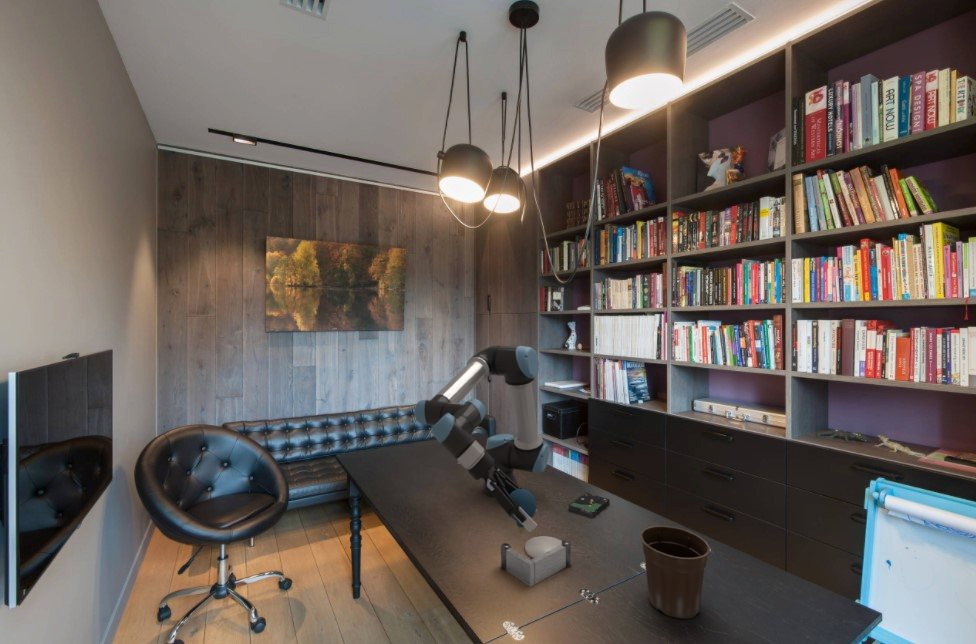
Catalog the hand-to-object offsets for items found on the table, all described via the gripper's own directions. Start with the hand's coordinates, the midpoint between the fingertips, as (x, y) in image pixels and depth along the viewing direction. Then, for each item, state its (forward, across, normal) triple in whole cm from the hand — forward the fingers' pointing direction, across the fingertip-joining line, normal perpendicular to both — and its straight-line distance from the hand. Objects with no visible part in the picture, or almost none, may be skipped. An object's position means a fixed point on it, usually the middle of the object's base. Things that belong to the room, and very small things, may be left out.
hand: (533, 520), depth 117 cm
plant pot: (+37, +5, +13) cm, 40 cm away
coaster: (+15, -16, -9) cm, 24 cm away
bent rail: (+12, -7, -12) cm, 18 cm away
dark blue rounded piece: (0, 0, -5) cm, 5 cm away
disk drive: (+27, -48, +3) cm, 56 cm away
